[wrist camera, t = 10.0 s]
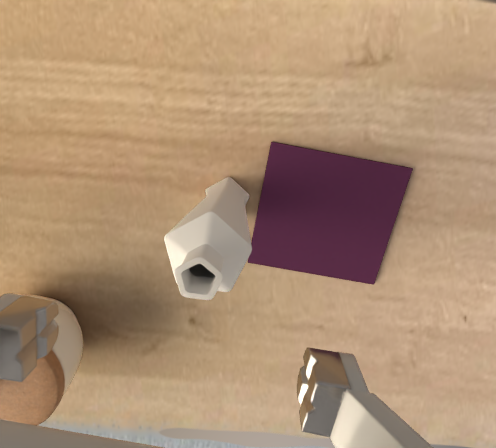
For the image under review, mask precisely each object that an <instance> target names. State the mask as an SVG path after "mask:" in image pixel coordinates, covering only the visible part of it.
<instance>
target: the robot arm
mask: <svg viewBox="0 0 496 448" xmlns="http://www.w3.org/2000/svg"><path fill="white" fill-rule="evenodd" d="M58 314H59V310H58V304H57V303H56V302H54V301H49V300H44V299H39V298H34V297H29V296H23V295H18V294H13V293H7V294H4V295H2V296H1V297H0V379H3V380H10V381H17V382H23V381H24V379H25V378H26V377H27V376H28V375H29V374H30V373H31V372H32V371H33V370H34V369H35V367H36V366H37V359H39V358H42V357H44V356H46V355H47V354H48V353H49V352H50V351H51V350H52V348H53V346H54V344H55V342H56V340H57V337H58V333H59V325H58V324H57V322H56V321H55V320H54V318H55V317H56V316H57V315H58ZM303 359H304V366H303V367H301V368H300V371H299V375H298V381H297V398H298V401H299V402H300V403H301V407H300V411H299V415H300V422H301V430H302V432H307V433H312V434H317V435H322V436H326V437H330V440H331V442H332V443H333V444H334V446H335V447H336V448H433V447H432V446H431V445H430V444H429V443H428V442H426V441H425V440H424V439H423V438H422V437H421V436H420V435H419V434H418V433H417V432H415V431H414V430H413V429H412V428H411V427H410V426H409V425H408V424H407V423H406V422H405V421H403V420H402V419H401V418H400V417H399V416H398V415H397V414H396V413H395V412H394V411H392V410H391V409H390V408H389V407H388V406H387V405H386V404H385V403H384V402H383V401H381V400H380V399H379V398H378V397H377V396H376V395H375V394H373V393H369V391H368V388H367V386H366V383H365V381H364V378H363V376H362V373H361V371H360V368H359V366H358V363H357V360H356V358H355V356H354V355H353V354H348V353H341V352H332V351H326V350H320V349H314V348H309V347H307V348H306V350H305V353H304V356H303ZM0 448H163V447H157V446H152V445H146V444H140V443H134V442H128V441H123V440H117V439H111V438H105V437H99V436H94V435H88V434H82V433H76V432H70V431H65V430H59V429H53V428H47V427H41V426H36V425H30V424H24V423H18V422H13V421H7V420H1V419H0Z"/></svg>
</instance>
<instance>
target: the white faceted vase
mask: <svg viewBox="0 0 496 448" xmlns="http://www.w3.org/2000/svg"><path fill="white" fill-rule="evenodd" d="M205 193H206V197H205V198H204V199H203V200H202V201H201V202H200V203H199V204H198V205H197V206H196V207H194V208H193V209H192V210H191V211H190V212H189V213H188V214H187V215H186V216H185V217H184V218H183V219H182V220H181V221H180V222H179V223H178V224H177V225H175V226H174V227H173V228H172V229H171V230H170V231H169V232H168V233H167V234H166V235H165V237H164V241H165V245H166V248H167V252H168V255H169V259H170V263H171V266H172V270H173V273H174V277H175V281H176V283H177V284H178V287H179V291H180V293H181V295H182V296H183V297H187V298H194V299H202V300H211V299H213V297H214V296H215V294H216V292H217V291H223V292H229V291H231V289H232V288H233V286H234V284H235V282H236V280H237V278H238V276H239V275H240V273H241V271H242V269H243V267H244V265H245V263H246V261H247V259H248V257H249V256H250V254H251V251H252V245H251V239H250V233H249V227H248V220H247V214H246V208H245V205H246V203H247V201H248V199H249V197H250V196H249V194H248V193H247V192H246V191H245V190H244V189H243V188H242V187H241V186H240V185H239V184H238V183H236V182H235V181H234V180H233V179H232V178H231V177H227V178H225V179H223V180H221V181H219V182H217V183H215V184H214V185H212V186H210V187H208V188H207V189H206V190H205Z"/></svg>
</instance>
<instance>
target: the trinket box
mask: <svg viewBox="0 0 496 448" xmlns="http://www.w3.org/2000/svg"><path fill="white" fill-rule="evenodd" d="M23 296H29V297H34V298H39V299H44V300H49V301H54V302H56V303H57V304H58V310H59V314H58V315H57V316H56V317H55V318H54V320H55V321H56V322H57V324H58V325H59V333H58V337H57V340H56V342H55V344H54V346H53V348H52V350H51V351H50V352H49V353H48V354H47V355H46V356H44V357H42V358H39V359H37V366H36V367H35V369H34V370H33V371H32V372H31V373H30V374H29V375H28V376H27V377H26V378H25V379H24V381H23V382H17V381H10V380H3V379H0V419H1V420H7V421H13V422H18V423H24V424H30V425H36V426H37V425H39V424H41V423H42V422H44V421H45V420H46V419H47V418H48V417H50V415H51V414H52V413H53V411H54V410H55V409H56V407H57V406H58V404H59V403H60V401H61V398H62V396H63V394H64V393H65V392H66V390H67V389H68V387H69V385H70V384H71V382H72V380H73V378H74V376H75V374H76V372H77V369H78V367H79V364H80V361H81V357H82V352H83V337H82V331H81V328H80V326H79V324H78V321H77V318H76V316H75V314H74V313H73V312H72V310H71V309H70V308H69V307H68V306H66V305H65V304H64V303H62V302H60V301H58V300H56V299H53V298H48V297H43V296H39V295H23Z"/></svg>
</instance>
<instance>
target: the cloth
mask: <svg viewBox="0 0 496 448" xmlns="http://www.w3.org/2000/svg"><path fill="white" fill-rule="evenodd" d="M412 170H413V168H408V167H403V166H398V165H392V164H387V163H382V162H376V161H371V160H366V159H361V158H355V157H350V156H345V155H339V154H334V153H329V152H323V151H318V150H313V149H307V148H302V147H297V146H292V145H286V144H281V143H276V142H271V146H270V151H269V157H268V162H267V167H266V172H265V177H264V182H263V187H262V192H261V197H260V202H259V207H258V212H257V217H256V222H255V227H254V232H253V237H252V242H251V245H252V251H251V254H250V256H249V258H248V263H254V264H259V265H265V266H271V267H276V268H282V269H288V270H294V271H299V272H305V273H311V274H316V275H322V276H328V277H334V278H339V279H345V280H351V281H356V282H362V283H368V284H374V283H375V280H376V277H377V274H378V271H379V268H380V265H381V262H382V259H383V256H384V253H385V250H386V247H387V244H388V241H389V238H390V235H391V232H392V229H393V226H394V223H395V220H396V217H397V214H398V211H399V208H400V206H401V203H402V200H403V197H404V194H405V191H406V188H407V185H408V182H409V179H410V176H411V173H412Z"/></svg>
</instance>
